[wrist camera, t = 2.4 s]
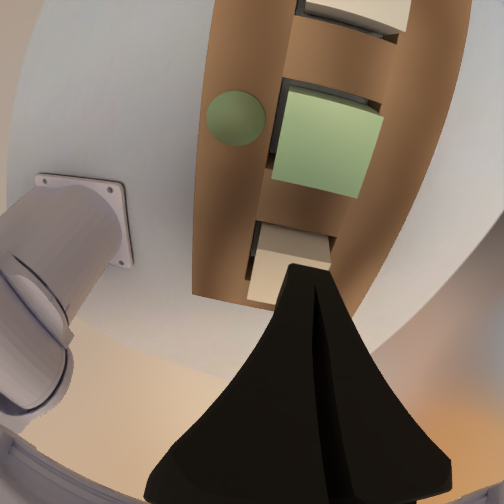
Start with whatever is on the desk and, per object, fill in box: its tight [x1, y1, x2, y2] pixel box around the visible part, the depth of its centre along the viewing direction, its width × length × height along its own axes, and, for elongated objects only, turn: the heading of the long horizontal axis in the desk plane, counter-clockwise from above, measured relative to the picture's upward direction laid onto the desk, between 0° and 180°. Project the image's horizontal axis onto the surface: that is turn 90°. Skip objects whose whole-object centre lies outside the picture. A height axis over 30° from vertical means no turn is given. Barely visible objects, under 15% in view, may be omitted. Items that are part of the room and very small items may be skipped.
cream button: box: [247, 221, 331, 305], centre depth 17 cm, size 4×4×3 cm
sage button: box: [271, 85, 384, 199], centre depth 12 cm, size 4×4×3 cm
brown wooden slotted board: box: [192, 0, 472, 318], centre depth 14 cm, size 12×26×3 cm, turn 171°
